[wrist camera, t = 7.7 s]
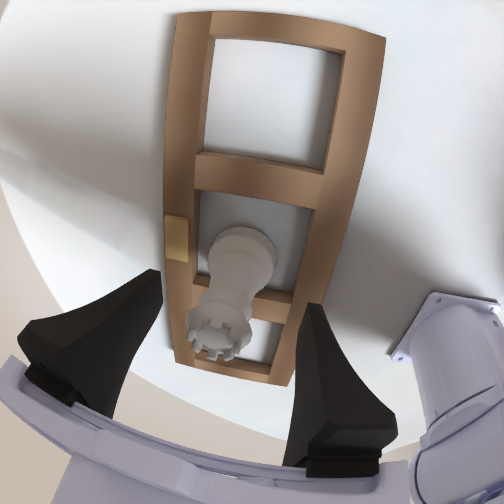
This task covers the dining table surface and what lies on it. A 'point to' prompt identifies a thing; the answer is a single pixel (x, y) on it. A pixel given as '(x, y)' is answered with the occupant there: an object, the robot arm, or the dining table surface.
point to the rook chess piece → (230, 292)
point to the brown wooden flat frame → (261, 173)
